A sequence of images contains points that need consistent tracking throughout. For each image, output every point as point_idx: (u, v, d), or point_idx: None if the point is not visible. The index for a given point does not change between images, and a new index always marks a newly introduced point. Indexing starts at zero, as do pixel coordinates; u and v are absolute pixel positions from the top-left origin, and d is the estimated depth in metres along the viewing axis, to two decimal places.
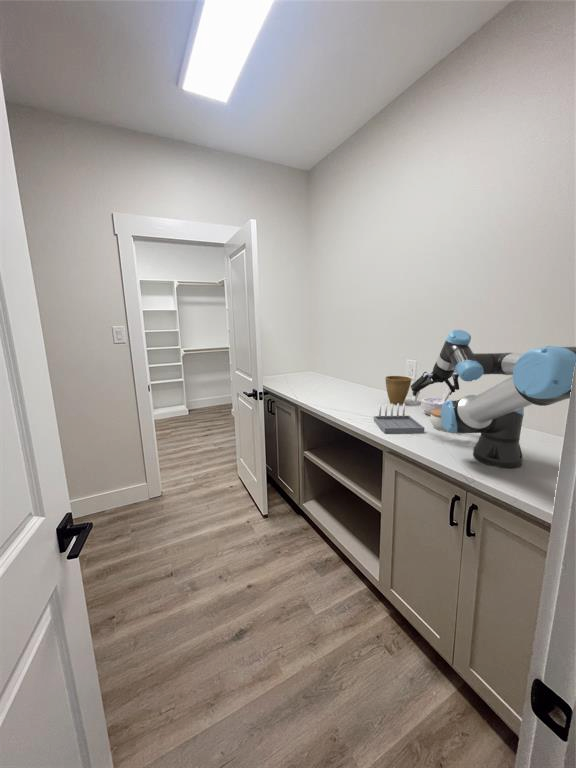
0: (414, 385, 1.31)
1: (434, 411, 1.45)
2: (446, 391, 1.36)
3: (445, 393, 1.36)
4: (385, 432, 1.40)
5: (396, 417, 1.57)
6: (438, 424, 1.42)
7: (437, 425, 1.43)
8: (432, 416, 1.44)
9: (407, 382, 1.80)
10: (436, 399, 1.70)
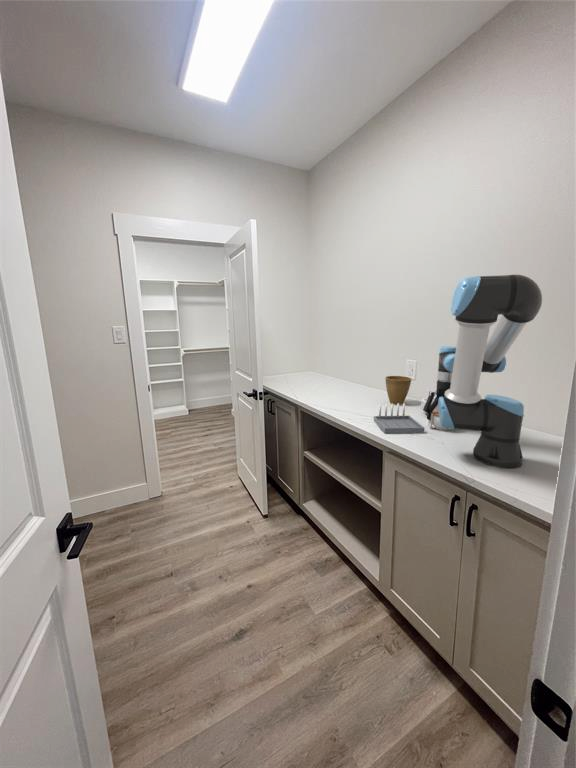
0: (425, 406, 1.44)
1: (434, 411, 1.45)
2: None
3: None
4: (385, 432, 1.40)
5: (396, 417, 1.57)
6: (438, 424, 1.42)
7: (437, 425, 1.43)
8: None
9: (407, 382, 1.80)
10: None
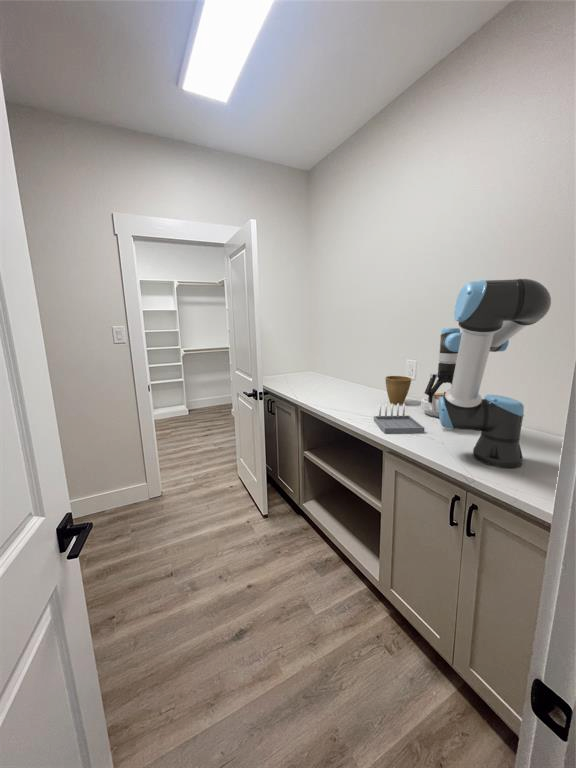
0: (427, 389, 1.41)
1: (436, 394, 1.43)
2: None
3: None
4: (385, 432, 1.40)
5: (396, 417, 1.57)
6: None
7: None
8: None
9: (407, 382, 1.80)
10: None
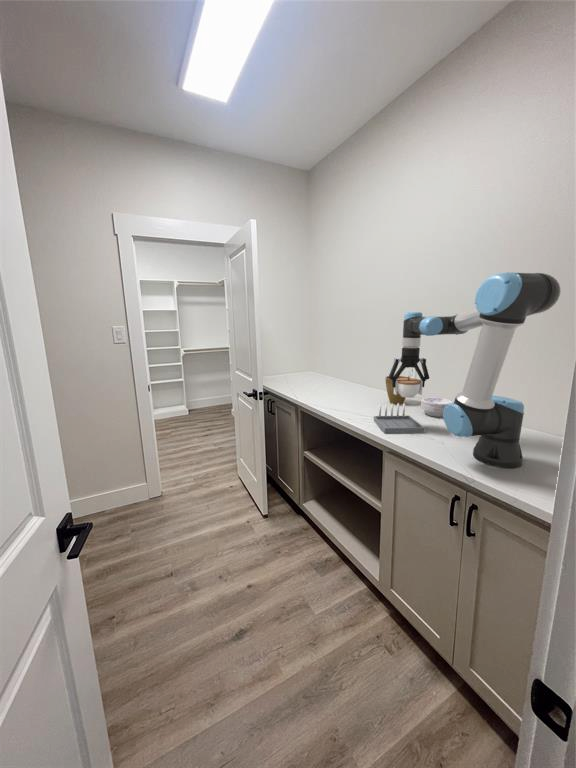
0: (390, 374, 1.43)
1: (400, 379, 1.45)
2: None
3: None
4: (385, 432, 1.40)
5: (396, 417, 1.57)
6: (403, 391, 1.41)
7: (402, 392, 1.42)
8: None
9: None
10: (436, 399, 1.70)
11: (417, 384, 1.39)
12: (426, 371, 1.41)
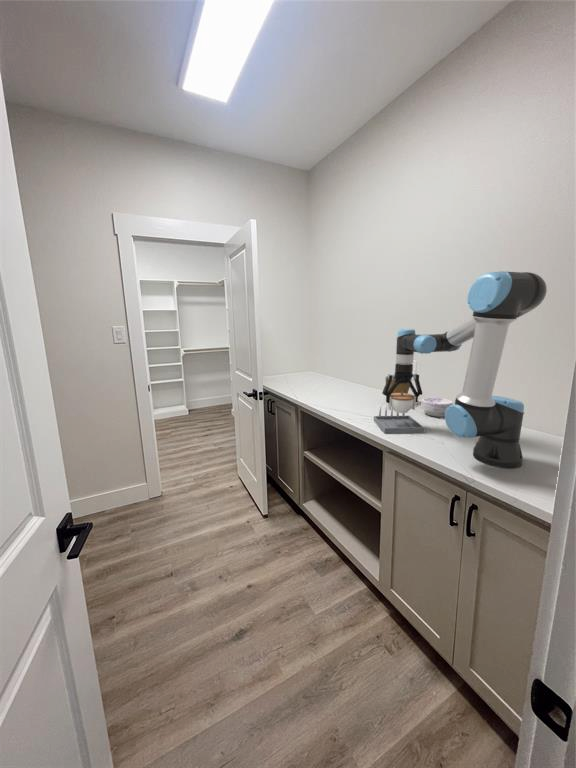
0: (384, 389, 1.44)
1: (393, 394, 1.46)
2: None
3: None
4: (385, 432, 1.40)
5: (396, 417, 1.57)
6: (396, 407, 1.42)
7: (395, 408, 1.43)
8: None
9: None
10: (436, 399, 1.70)
11: (410, 400, 1.40)
12: (419, 387, 1.43)
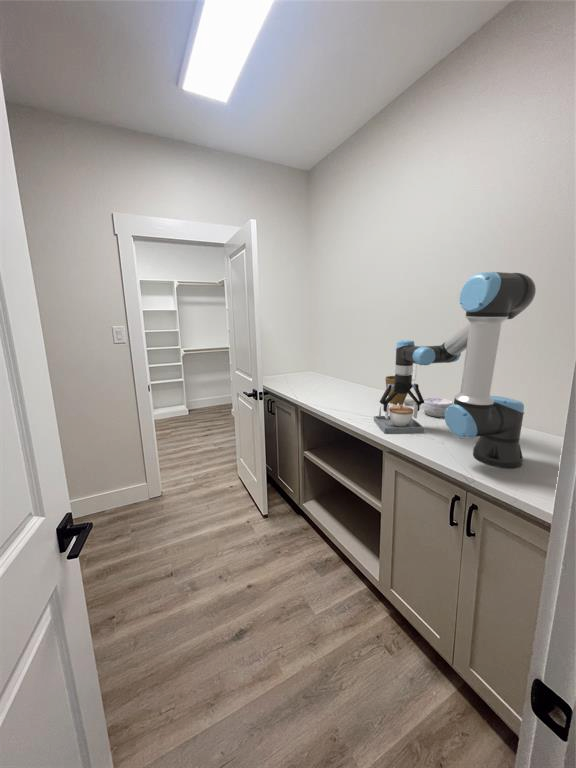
0: (382, 398, 1.45)
1: (392, 408, 1.47)
2: (414, 408, 1.46)
3: (414, 410, 1.47)
4: (385, 432, 1.40)
5: None
6: (396, 420, 1.43)
7: (395, 421, 1.44)
8: (390, 412, 1.46)
9: None
10: (436, 399, 1.70)
11: (410, 414, 1.42)
12: (420, 396, 1.43)
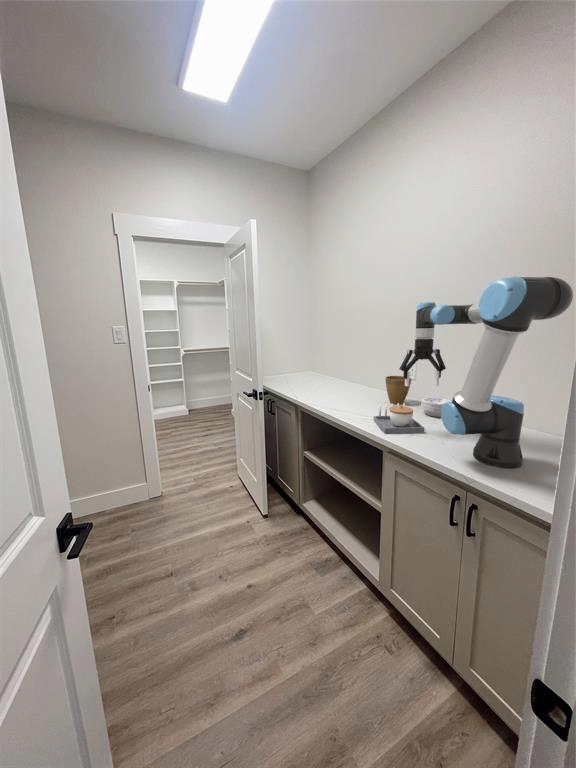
0: (402, 365, 1.38)
1: (392, 408, 1.47)
2: (435, 375, 1.40)
3: (435, 377, 1.40)
4: (385, 432, 1.40)
5: None
6: (396, 420, 1.43)
7: (395, 421, 1.44)
8: (390, 412, 1.46)
9: None
10: (436, 399, 1.70)
11: (410, 414, 1.42)
12: (441, 361, 1.38)
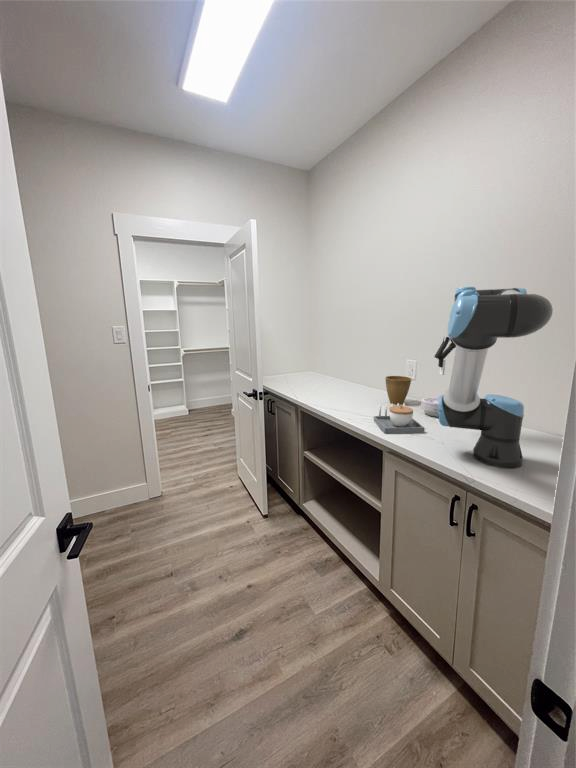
0: (438, 352, 1.33)
1: (392, 408, 1.47)
2: None
3: None
4: (385, 432, 1.40)
5: None
6: (396, 420, 1.43)
7: (395, 421, 1.44)
8: (390, 412, 1.46)
9: (407, 382, 1.80)
10: (436, 399, 1.70)
11: (410, 414, 1.42)
12: None
